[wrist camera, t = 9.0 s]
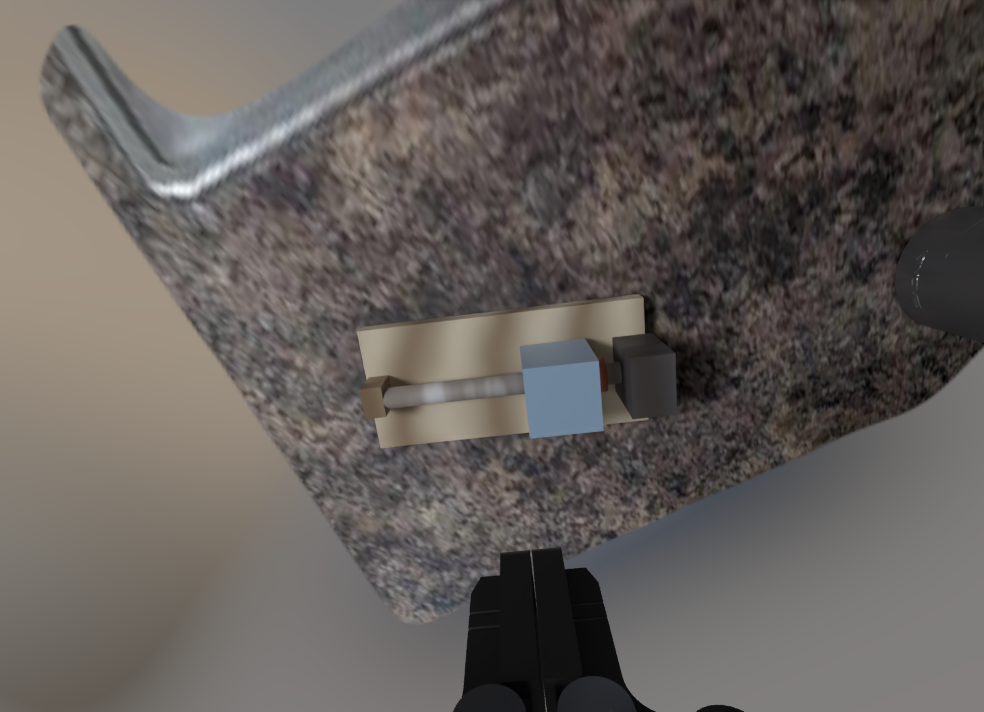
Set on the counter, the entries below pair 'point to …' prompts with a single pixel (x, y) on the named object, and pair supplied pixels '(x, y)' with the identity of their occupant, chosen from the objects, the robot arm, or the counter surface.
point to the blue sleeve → (561, 388)
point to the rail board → (505, 369)
